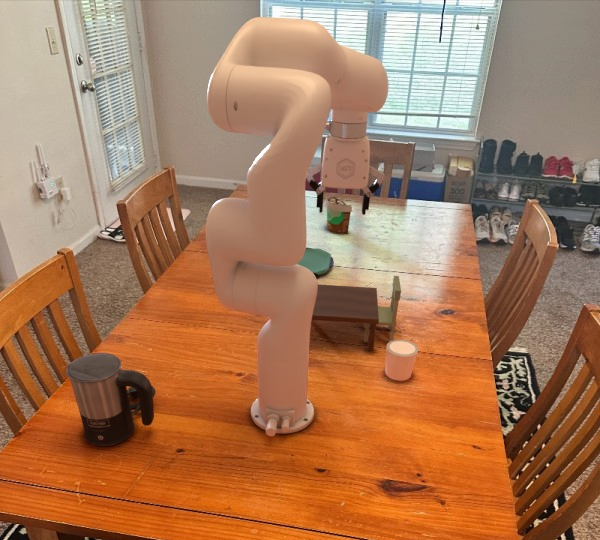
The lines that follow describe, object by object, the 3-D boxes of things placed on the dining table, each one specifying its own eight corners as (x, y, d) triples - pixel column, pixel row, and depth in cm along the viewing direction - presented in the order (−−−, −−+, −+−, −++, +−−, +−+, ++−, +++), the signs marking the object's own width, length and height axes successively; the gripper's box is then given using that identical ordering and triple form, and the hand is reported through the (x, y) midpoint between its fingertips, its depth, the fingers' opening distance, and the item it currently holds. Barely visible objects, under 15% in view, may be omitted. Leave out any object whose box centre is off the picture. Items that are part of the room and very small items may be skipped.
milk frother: (82, 451, 103) (64, 384, 94) (83, 400, 114) (67, 337, 106) (162, 438, 106) (152, 373, 97) (155, 390, 118) (145, 328, 109)
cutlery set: (331, 282, 161) (331, 275, 160) (227, 274, 164) (227, 267, 162) (335, 255, 177) (336, 248, 176) (241, 248, 179) (241, 241, 178)
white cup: (377, 377, 124) (381, 350, 120) (389, 362, 129) (392, 336, 125) (407, 386, 122) (412, 359, 117) (417, 371, 126) (422, 344, 122)
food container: (317, 225, 198) (318, 196, 192) (333, 223, 200) (334, 194, 194) (333, 237, 189) (335, 207, 183) (349, 235, 191) (352, 205, 185)
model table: (374, 353, 132) (378, 319, 126) (297, 348, 133) (298, 314, 127) (372, 320, 145) (376, 287, 139) (302, 315, 145) (303, 283, 140)
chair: (393, 344, 135) (401, 291, 126) (363, 342, 135) (369, 289, 127) (391, 327, 141) (398, 275, 133) (363, 326, 141) (369, 274, 133)
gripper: (305, 132, 115) (303, 215, 125) (391, 135, 114) (381, 219, 125) (307, 124, 121) (304, 204, 131) (388, 127, 120) (379, 208, 131)
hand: (342, 211), depth 128 cm, fingers open, 9 cm apart
